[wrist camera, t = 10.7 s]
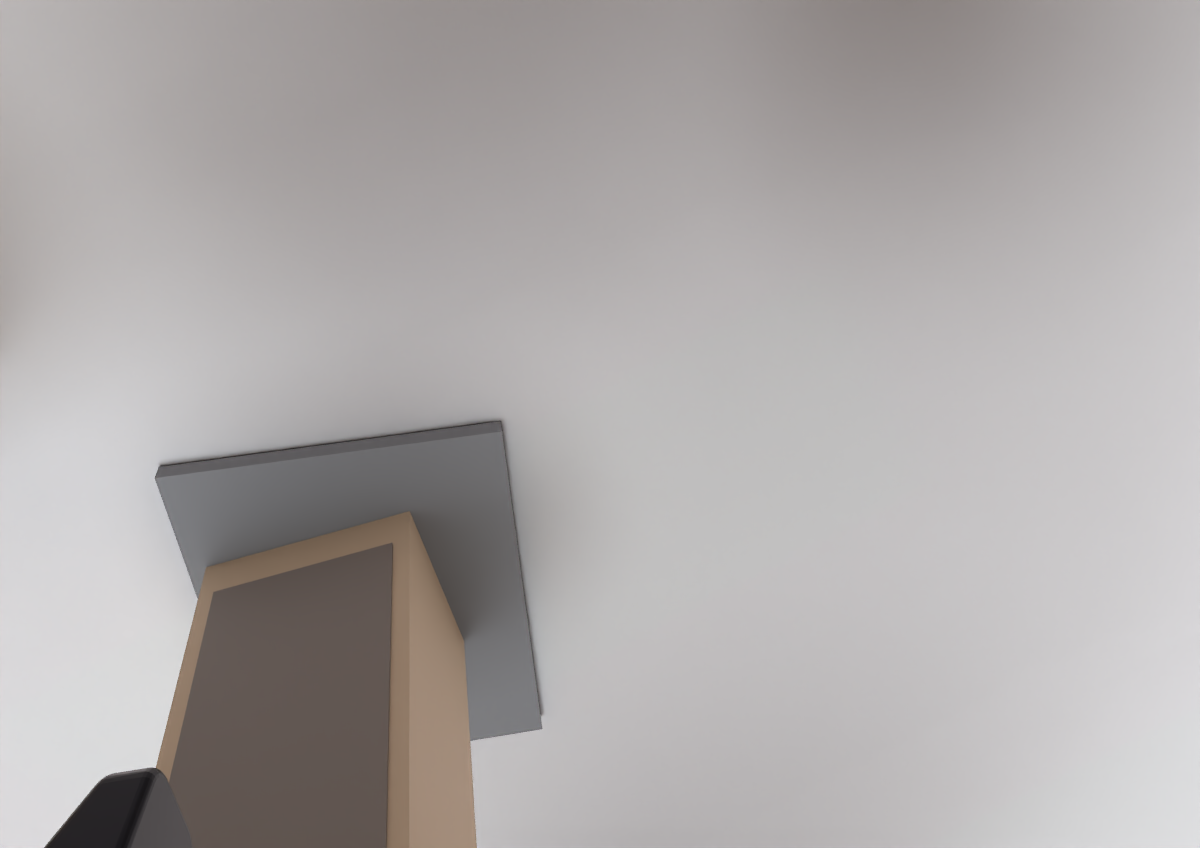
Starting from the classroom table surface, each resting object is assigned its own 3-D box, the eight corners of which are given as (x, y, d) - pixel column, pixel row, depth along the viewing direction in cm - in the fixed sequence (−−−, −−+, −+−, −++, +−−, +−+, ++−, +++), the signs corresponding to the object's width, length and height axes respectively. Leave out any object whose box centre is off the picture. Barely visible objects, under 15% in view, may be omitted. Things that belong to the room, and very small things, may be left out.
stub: (465, 641, 25) (502, 1241, 15) (277, 693, 25) (188, 1330, 15) (409, 508, 23) (409, 1109, 13) (203, 565, 23) (38, 1212, 13)
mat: (540, 716, 27) (542, 728, 27) (262, 761, 27) (260, 774, 26) (500, 421, 22) (501, 431, 22) (158, 466, 22) (154, 477, 21)
